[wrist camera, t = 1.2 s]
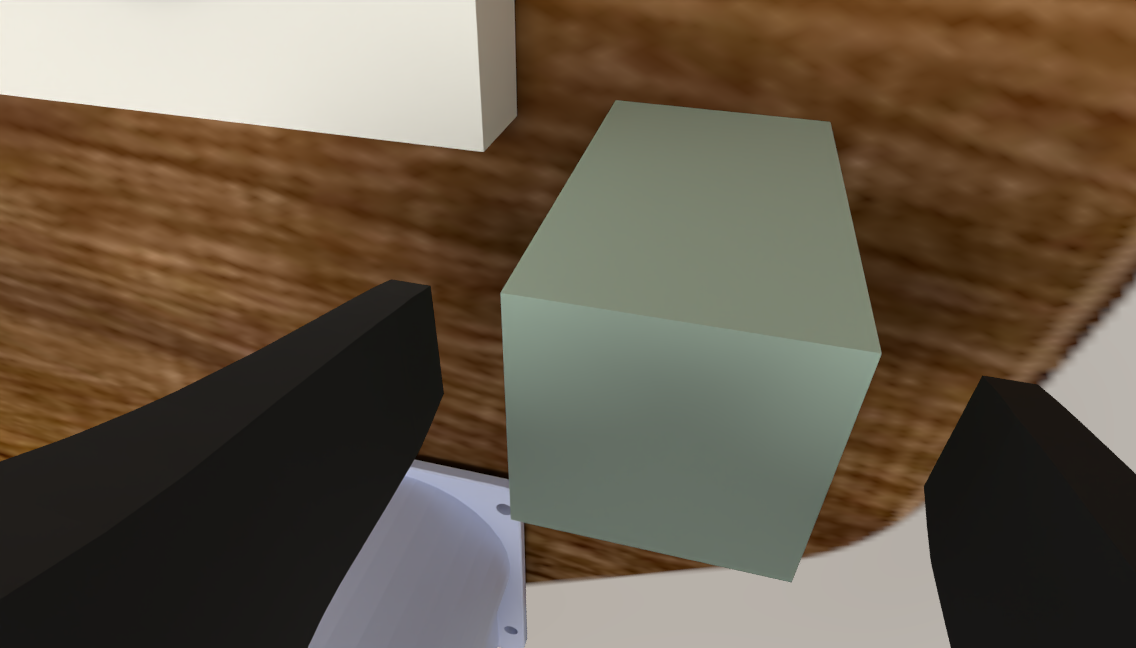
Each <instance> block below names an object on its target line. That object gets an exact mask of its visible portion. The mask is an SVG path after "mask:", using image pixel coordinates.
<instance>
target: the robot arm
mask: <svg viewBox="0 0 1136 648" xmlns="http://www.w3.org/2000/svg"><path fill="white" fill-rule="evenodd" d="M443 394H444V392H443V384H442V375H441V367H440V359H439V351H438V343H437V335H436V327H435V318H434V310H433V302H432V294H431V286H428V285H422V284H415V283H409V282H403V281H397V280H389V281H387V282H385V283H383V284H380V285H378V286H376V287H374V288H372V289H370V290H368V291H366V292H364V293H363V294H361V295H359V296H357V297H355V298H353V299H351V300H350V301H348V302H346V303H344V304H342V305H340V306H339V307H337V308H335V309H333V310H331V311H330V312H328V313H326V314H324V315H322V316H321V317H319V318H317V319H315V320H313V321H311V322H310V323H308V324H306V325H304V326H302V327H300V328H299V329H297V330H295V331H293V332H291V333H289V334H288V335H286V336H284V337H282V338H280V339H278V340H277V341H275V342H273V343H271V344H269V345H267V346H266V347H264V348H262V349H260V350H258V351H256V352H254V353H252V354H250V355H248V356H246V357H244V358H242V359H240V360H238V361H236V362H234V363H232V364H230V365H228V366H226V367H224V368H222V369H220V370H218V371H216V372H214V373H212V374H210V375H208V376H206V377H204V378H202V379H200V380H198V381H196V382H194V383H192V384H190V385H188V386H186V387H184V388H182V389H180V390H178V391H176V392H174V393H172V394H169V395H167V396H165V397H163V398H161V399H159V400H156V401H154V402H152V403H150V404H147V405H145V406H143V407H141V408H138V409H136V410H134V411H131V412H129V413H127V414H124V415H122V416H119V417H117V418H114V419H112V420H110V421H107V422H105V423H102V424H100V425H98V426H95V427H93V428H90V429H88V430H85V431H83V432H81V433H78V434H75V435H73V436H70V437H68V438H65V439H62V440H60V441H57V442H54V443H52V444H49V445H46V446H43V447H40V448H37V449H35V450H32V451H29V452H26V453H23V454H20V455H18V456H15V457H12V458H9V459H6V460H4V461H1V462H0V648H497V647H501V648H524V647H525V643H526V640H527V622H526V583H525V545H524V522H520V521H515V520H511V515H510V492H509V479H505V478H500V477H495V476H491V475H486V474H481V473H477V472H472V471H467V470H462V469H458V468H453V467H448V466H444V465H439V464H434V463H429V462H425V461H420V460H415V458H416V456H417V454H418V452H419V450H420V448H421V446H422V444H423V441H424V439H425V437H426V435H427V432H428V430H429V428H430V426H431V423H432V421H433V418H434V416H435V413H436V411H437V409H438V406H439V404H440V401H441V399H442V396H443ZM924 493H925V506H926V517H927V518H926V519H927V530H928V540H929V549H930V558H931V564H932V569H933V573H934V578H935V582H936V586H937V591H938V595H939V599H940V603H941V608H942V612H943V617H944V620H945V625H946V629H947V633H948V637H949V642H950V646H951V648H1136V474H1135V473H1134V472H1133V471H1132V470H1131V469H1130V468H1129V467H1128V466H1127V465H1126V464H1125V463H1124V462H1123V461H1121V460H1120V459H1119V458H1118V457H1117V456H1116V455H1115V454H1114V453H1113V452H1112V451H1111V450H1110V449H1109V448H1107V446H1105V445H1104V444H1103V443H1102V442H1101V441H1100V440H1099V439H1098V438H1097V437H1096V436H1095V435H1094V434H1093V433H1092V432H1091V431H1090V430H1088V429H1087V428H1086V427H1085V426H1084V425H1083V424H1082V423H1081V422H1080V421H1078V419H1077V418H1076V417H1074V416H1073V415H1072V414H1071V413H1070V412H1069V411H1068V410H1067V409H1066V408H1065V407H1063V406H1062V405H1061V404H1060V403H1059V402H1058V401H1057V400H1056V399H1054V398H1053V397H1052V396H1051V395H1050V394H1048V393H1047V392H1046V391H1045V390H1044V389H1042V388H1041V387H1040V386H1039V385H1037V384H1031V383H1024V382H1018V381H1012V380H1006V379H1000V378H994V377H988V376H982V377H981V379H980V381H979V383H978V385H977V387H976V389H975V391H974V393H973V394H972V396H971V398H970V400H969V402H968V404H967V406H966V408H965V410H964V411H963V413H962V415H961V417H960V419H959V421H958V423H957V425H956V427H955V429H954V430H953V432H952V434H951V436H950V438H949V440H948V442H947V444H946V446H945V447H944V449H943V451H942V453H941V455H940V457H939V459H938V461H937V463H936V465H935V466H934V468H933V470H932V472H931V474H930V476H929V478H928V480H927V482H926V483H925V485H924Z"/></svg>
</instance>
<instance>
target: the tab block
mask: <svg viewBox="0 0 1136 648" xmlns="http://www.w3.org/2000/svg"><path fill="white" fill-rule="evenodd" d="M501 315H502V337H503V359H504V382H505V404H506V426H507V448H508V470H509V492H510V515H511V520H515V521H520V522H524V523H528V524H533V525H537V526H542V527H546V528H551V529H555V530H560V531H564V532H569V533H573V534H578V535H582V536H587V537H591V538H596V539H600V540H604V541H609V542H613V543H618V544H622V545H627V546H631V547H636V548H640V549H645V550H649V551H654V552H658V553H663V554H667V555H671V556H676V557H680V558H685V559H689V560H694V561H698V562H703V563H707V564H712V565H716V566H721V567H725V568H730V569H734V570H738V571H743V572H748V573H752V574H756V575H761V576H765V577H770V578H775V579H779V580H783V581H788V582H792V580H793V578H794V575H795V572H796V570H797V567H798V565H799V562H800V560H801V557H802V555H803V552H804V550H805V547H806V545H807V542H808V539H809V537H810V534H811V532H812V529H813V527H814V524H815V522H816V519H817V517H818V514H819V512H820V509H821V506H822V504H823V501H824V499H825V496H826V494H827V491H828V489H829V486H830V484H831V481H832V479H833V476H834V473H835V471H836V468H837V466H838V463H839V461H840V458H841V456H842V453H843V451H844V448H845V445H846V443H847V440H848V438H849V435H850V433H851V430H852V428H853V425H854V423H855V420H856V418H857V415H858V412H859V410H860V407H861V405H862V402H863V400H864V397H865V395H866V392H867V390H868V387H869V384H870V382H871V379H872V377H873V374H874V372H875V369H876V367H877V364H878V362H879V359H880V357H881V354H882V353H881V348H880V344H879V339H878V335H877V330H876V326H875V321H874V317H873V312H872V308H871V303H870V299H869V294H868V290H867V285H866V281H865V276H864V272H863V267H862V263H861V258H860V254H859V249H858V245H857V240H856V235H855V231H854V226H853V222H852V217H851V213H850V208H849V204H848V199H847V195H846V190H845V186H844V181H843V177H842V172H841V168H840V163H839V159H838V154H837V150H836V145H835V141H834V136H833V132H832V127H831V123H830V122H826V121H816V120H806V119H796V118H786V117H777V116H767V115H757V114H747V113H737V112H727V111H717V110H707V109H697V108H687V107H677V106H668V105H658V104H648V103H638V102H628V101H618V100H616V101H615V102H614V104H613V106H612V107H611V109H610V111H609V112H608V114H607V116H606V117H605V119H604V121H603V122H602V124H601V126H600V127H599V129H598V131H597V132H596V134H595V136H594V137H593V139H592V141H591V142H590V144H589V146H588V147H587V149H586V151H585V152H584V154H583V156H582V157H581V159H580V161H579V162H578V164H577V166H576V167H575V169H574V171H573V173H572V174H571V176H570V178H569V179H568V181H567V183H566V184H565V186H564V188H563V189H562V191H561V193H560V194H559V196H558V198H557V199H556V201H555V203H554V204H553V206H552V208H551V209H550V211H549V213H548V214H547V216H546V218H545V219H544V221H543V223H542V224H541V226H540V228H539V229H538V231H537V233H536V234H535V236H534V238H533V239H532V241H531V243H530V244H529V246H528V248H527V249H526V251H525V253H524V254H523V256H522V258H521V259H520V261H519V263H518V264H517V266H516V268H515V269H514V271H513V273H512V274H511V276H510V278H509V279H508V281H507V283H506V284H505V286H504V288H503V289H502V291H501Z"/></svg>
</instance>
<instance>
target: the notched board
mask: <svg viewBox="0 0 1136 648" xmlns="http://www.w3.org/2000/svg"><path fill="white" fill-rule="evenodd" d="M0 94H3V95H12V96H20V97H28V98H37V99H45V100H54V101H62V102H70V103H79V104H87V105H95V106H104V107H112V108H120V109H129V110H137V111H145V112H154V113H162V114H170V115H179V116H187V117H196V118H204V119H212V120H221V121H229V122H237V123H246V124H254V125H262V126H271V127H279V128H287V129H296V130H304V131H312V132H321V133H329V134H337V135H346V136H354V137H363V138H371V139H379V140H388V141H396V142H404V143H413V144H421V145H429V146H438V147H446V148H454V149H463V150H471V151H479V152H484V151H485V150H486V149H487V148H488V147H489V146H490V145H491V144H492V142H493V141H494V140H495V139H496V138H497V137H498V136H499V135H500V134H501V133H502V132H503V131H504V130H505V128H506V127H507V126H508V125H509V124H510V123H511V122H512V121H513V120H514V119H515V118H516V117H517V92H516V48H515V4H514V0H0Z"/></svg>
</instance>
